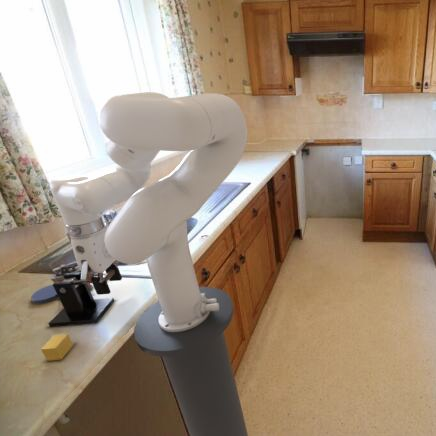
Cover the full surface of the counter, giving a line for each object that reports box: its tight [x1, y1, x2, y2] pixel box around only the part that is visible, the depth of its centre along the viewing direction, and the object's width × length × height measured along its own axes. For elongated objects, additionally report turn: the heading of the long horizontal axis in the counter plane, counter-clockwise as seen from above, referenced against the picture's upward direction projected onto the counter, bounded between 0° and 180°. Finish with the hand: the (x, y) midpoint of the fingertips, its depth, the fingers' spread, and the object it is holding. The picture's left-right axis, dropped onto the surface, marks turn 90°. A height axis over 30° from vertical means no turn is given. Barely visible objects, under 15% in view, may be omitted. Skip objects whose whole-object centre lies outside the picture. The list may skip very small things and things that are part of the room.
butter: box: [40, 333, 74, 362], centre depth 76 cm, size 4×3×4 cm
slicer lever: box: [62, 270, 115, 288], centre depth 85 cm, size 12×5×2 cm, turn 94°
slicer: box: [48, 272, 115, 328], centre depth 87 cm, size 12×9×12 cm
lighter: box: [50, 260, 94, 291], centre depth 96 cm, size 8×3×10 cm, turn 129°
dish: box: [30, 284, 59, 305], centre depth 97 cm, size 8×8×1 cm
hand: (109, 286), depth 86 cm, fingers closed on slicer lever, 5 cm apart
